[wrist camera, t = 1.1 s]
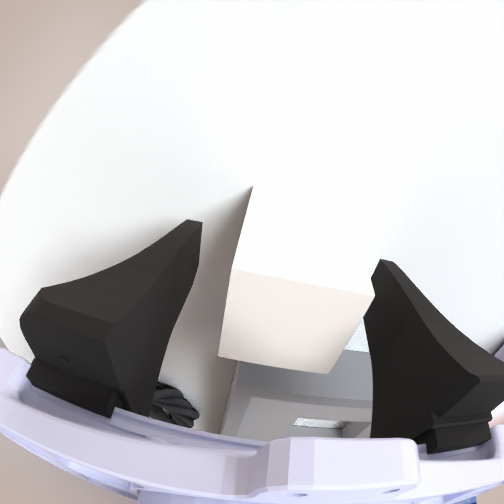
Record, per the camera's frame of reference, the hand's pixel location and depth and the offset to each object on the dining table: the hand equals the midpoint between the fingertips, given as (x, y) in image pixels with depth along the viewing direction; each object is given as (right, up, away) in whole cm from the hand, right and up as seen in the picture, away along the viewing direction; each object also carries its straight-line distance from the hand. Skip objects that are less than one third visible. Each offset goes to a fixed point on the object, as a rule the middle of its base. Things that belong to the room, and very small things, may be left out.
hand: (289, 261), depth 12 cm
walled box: (+4, -13, +11) cm, 18 cm away
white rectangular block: (0, +1, +2) cm, 2 cm away
